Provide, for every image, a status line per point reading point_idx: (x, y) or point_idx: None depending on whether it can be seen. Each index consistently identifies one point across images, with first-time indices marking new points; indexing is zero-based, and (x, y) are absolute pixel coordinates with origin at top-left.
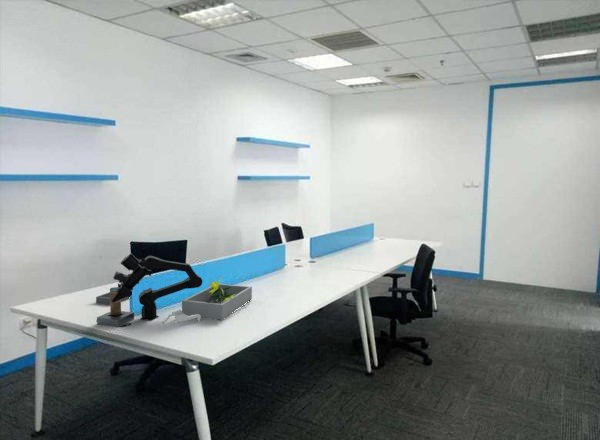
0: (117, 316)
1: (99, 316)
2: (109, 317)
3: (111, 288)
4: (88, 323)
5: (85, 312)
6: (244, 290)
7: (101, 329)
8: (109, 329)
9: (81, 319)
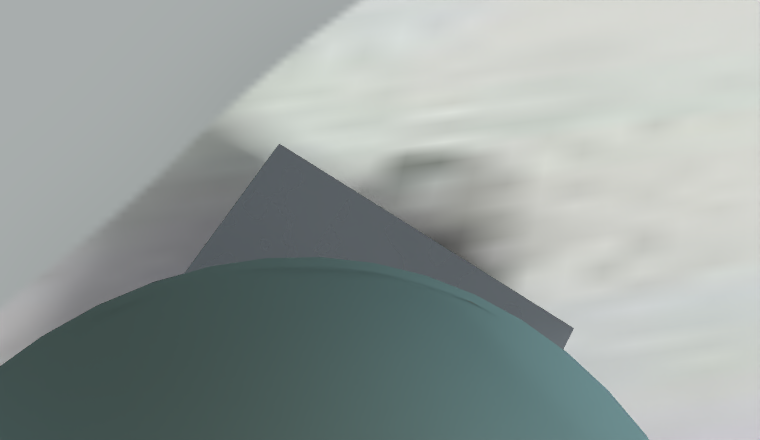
0: None
1: (309, 171)
2: None
3: (322, 378)
4: (347, 85)
5: (724, 12)
6: None
7: (82, 246)
8: None
9: (498, 5)
